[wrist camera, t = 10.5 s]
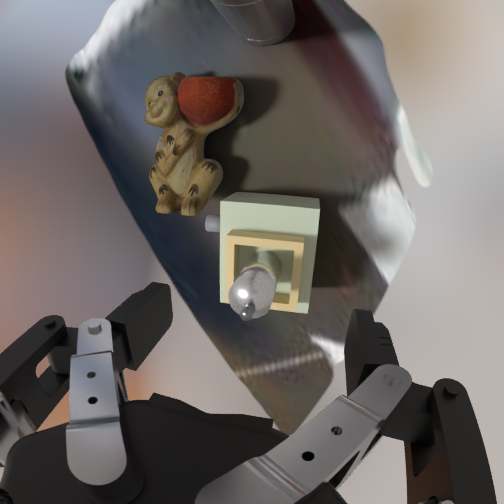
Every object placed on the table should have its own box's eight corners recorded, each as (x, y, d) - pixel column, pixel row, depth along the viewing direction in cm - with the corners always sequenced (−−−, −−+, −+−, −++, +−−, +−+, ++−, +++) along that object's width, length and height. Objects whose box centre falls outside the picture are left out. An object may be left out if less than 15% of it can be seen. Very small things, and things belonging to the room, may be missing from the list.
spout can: (247, 249, 38) (223, 283, 28) (282, 252, 37) (270, 287, 27) (247, 281, 39) (224, 323, 29) (281, 284, 38) (268, 328, 28)
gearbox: (217, 190, 44) (189, 203, 35) (319, 198, 42) (320, 213, 32) (216, 277, 49) (193, 309, 39) (309, 288, 47) (306, 325, 37)
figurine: (135, 215, 39) (126, 73, 32) (162, 199, 48) (156, 80, 40) (239, 217, 37) (236, 56, 29) (250, 200, 45) (248, 70, 38)
